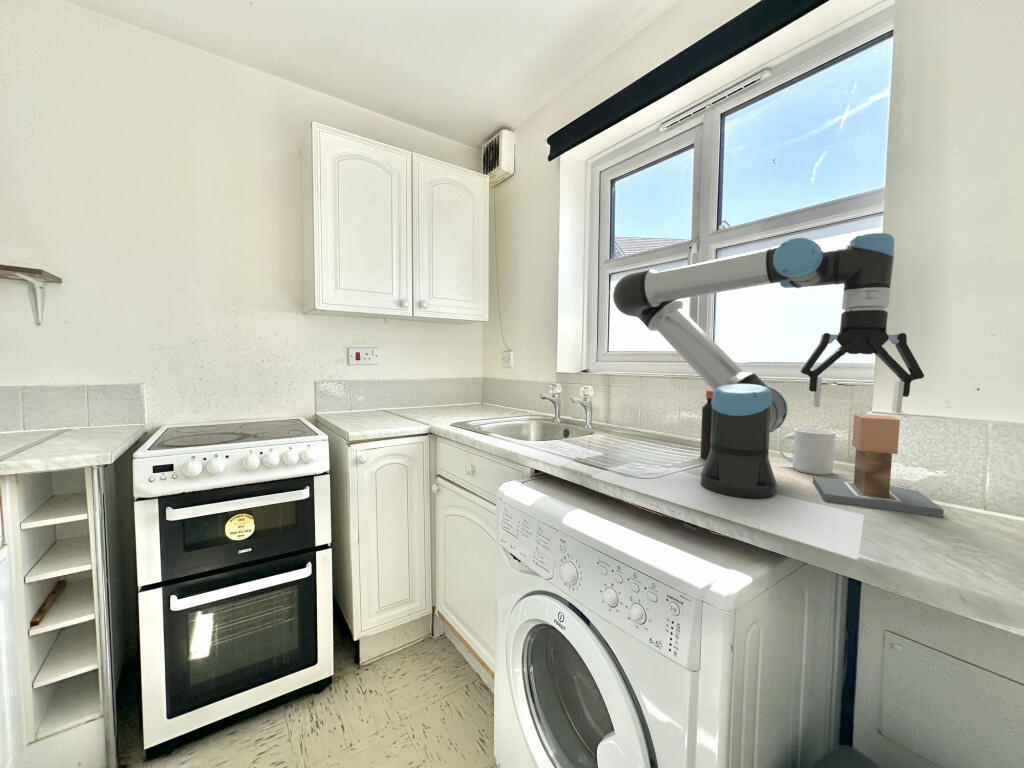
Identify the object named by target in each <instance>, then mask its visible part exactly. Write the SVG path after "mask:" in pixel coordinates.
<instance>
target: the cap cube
mask: <svg viewBox="0 0 1024 768" xmlns="http://www.w3.org/2000/svg"><path fill="white" fill-rule="evenodd" d="M900 425H901V420H900V419H899V418H896V417H895V416H894V417H893V416H891V415H877V414H876V415H875V414H859V413H854V414H853V424H852V440H851V446H852V447H853V448H854V449H855V450H856V449H858V450H859V451H867V452H878V453H889V454H892V455H898V453H899V441H900V439H899V438H900V437H899V436H900Z"/></svg>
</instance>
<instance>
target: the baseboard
mask: <svg viewBox="0 0 1024 768" xmlns="http://www.w3.org/2000/svg"><path fill="white" fill-rule="evenodd" d="M812 483H813V485H814V487H815V488H816V490H817V492H818V493H819V495H820V496H821V498H822V500H823V501H824V502H830V503H837V504H844V505H850V506H851V505H852V506H858V507H866V508H872V509H880V510H887V511H894V512H902V513H908V514H909V513H910V514H915V515H916V514H917V515H924V516H931V517H936V518H937V517H938V518H944V512H945V511H944V510H945V509H944V508H942V507H941V506H939V505H938V504H936V503H935V502H934V501H933V500H931V499H930V498H928V497H927V496H926V495H925V494H923V493H922V492H921V491H919V490H918V491H914V490H910V489H904V488H899V487H900V486H899V487H894V486H895V485H890V491H889V498H884V497H876V496H868V495H863V494H862V493H861V492H860V491H859V489H858V488H857V487H856V486H855V485H854V480H847V479H838V478H837V479H836V478H830V477H829V478H828V477H821V476H813V477H812Z"/></svg>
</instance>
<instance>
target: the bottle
mask: <svg viewBox="0 0 1024 768" xmlns="http://www.w3.org/2000/svg"><path fill="white" fill-rule="evenodd" d="M705 392H706V393H705V398H706V403H705V404H704V405H703V406H702V407H701V429H700V430H701V433H700V434H701V435H700V458H702V459H704V460H707V458H708V456H709V453H710V445H711V415H712V406H711V400H712V397H713V390H712V389H708V390H706V391H705Z"/></svg>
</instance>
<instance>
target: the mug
mask: <svg viewBox="0 0 1024 768" xmlns="http://www.w3.org/2000/svg"><path fill="white" fill-rule="evenodd" d="M788 440H793V451H792V452H793V453H792V455H786V454H785V453H784V452H783V451H782V444H783V443H784V442H785V441H788ZM835 444H836V432H835V431H832V430H829V429H823V428H816V427H815V428H812V427H796V428H794V432H792V433H789V434H786V435H784V436H783V437H782V438H781V439H780V441H779V444H778V449H779V453H780V455H781V457H782V458H783V459H784V460H786V461H787V462H790V463H792V467H793V469H794V470H796V471H798V472H800V473H805V474H810V475H817V476H818V475H819V476H825V475H831V474H832V473H833V471H834V464H835V463H834V461H835V446H836V445H835Z"/></svg>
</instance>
